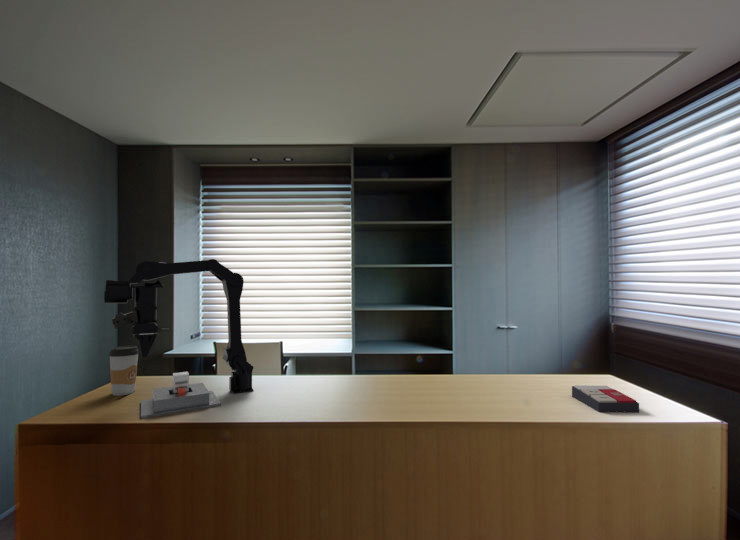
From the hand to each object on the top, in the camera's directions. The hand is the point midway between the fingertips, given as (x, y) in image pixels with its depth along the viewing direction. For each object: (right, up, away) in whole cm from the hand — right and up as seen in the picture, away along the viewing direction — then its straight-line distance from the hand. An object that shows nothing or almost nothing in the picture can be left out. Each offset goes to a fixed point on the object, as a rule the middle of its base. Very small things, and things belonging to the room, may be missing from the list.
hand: (144, 355), depth 111 cm
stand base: (+11, -15, -1) cm, 18 cm away
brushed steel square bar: (+11, -15, -1) cm, 18 cm away
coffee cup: (-14, -16, +12) cm, 24 cm away
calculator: (+136, -15, -2) cm, 137 cm away
